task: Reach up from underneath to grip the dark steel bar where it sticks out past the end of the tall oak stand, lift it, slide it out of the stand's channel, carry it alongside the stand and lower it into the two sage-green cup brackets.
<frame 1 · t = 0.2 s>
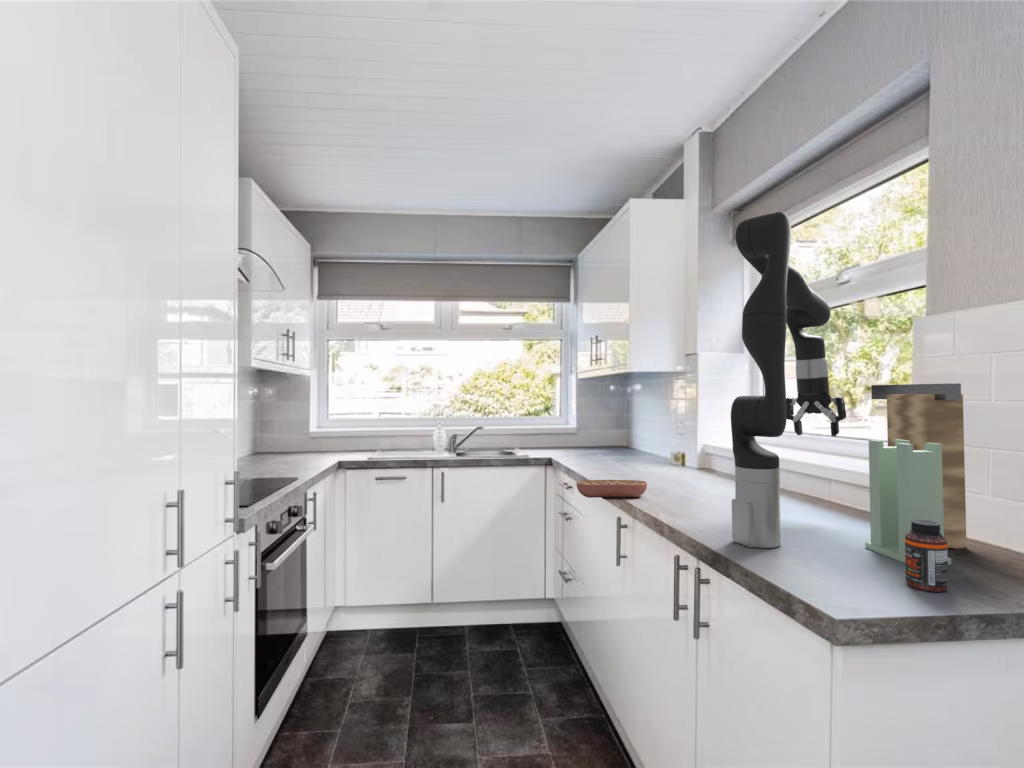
hand: (816, 435, 150), 22 cm above the worktop, tool pointing down, fingers open, 8 cm apart
brown elongated piece: (611, 497, 184), on the worktop
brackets: (906, 555, 115), on the worktop
rail: (912, 399, 129), point 32 cm above the worktop, touching shelf
shelf: (926, 541, 126), on the worktop
supplement bottle: (926, 588, 97), on the worktop
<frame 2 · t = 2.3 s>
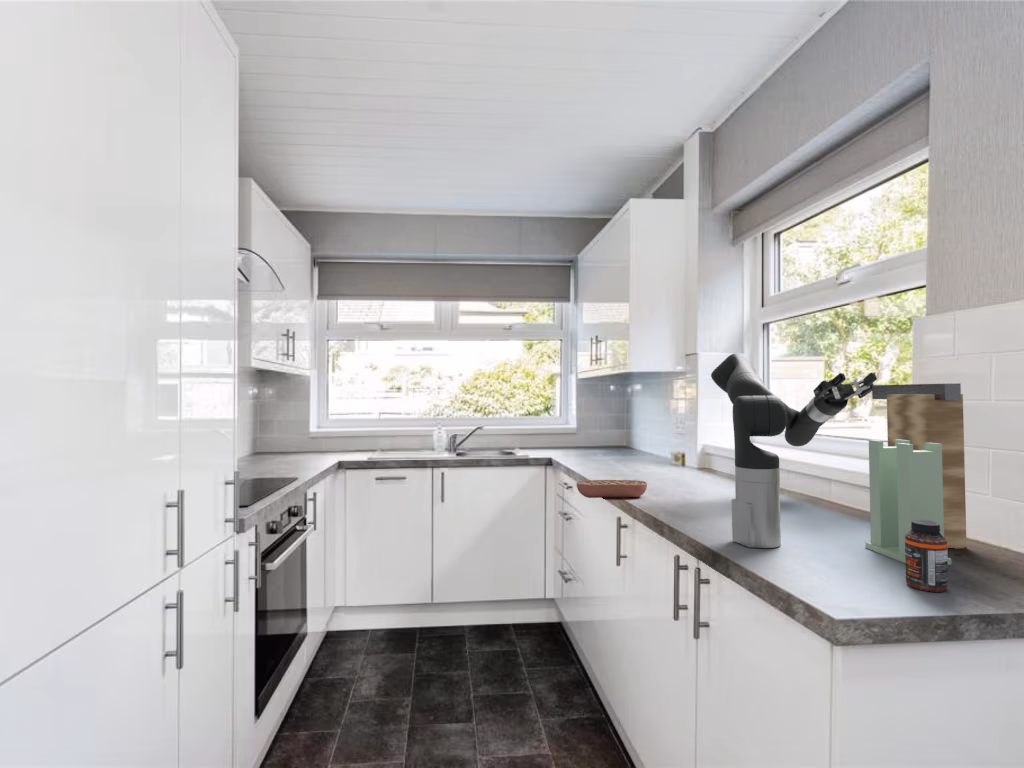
hand: (859, 375, 147), 38 cm above the worktop, tool pointing upward, fingers open, 8 cm apart
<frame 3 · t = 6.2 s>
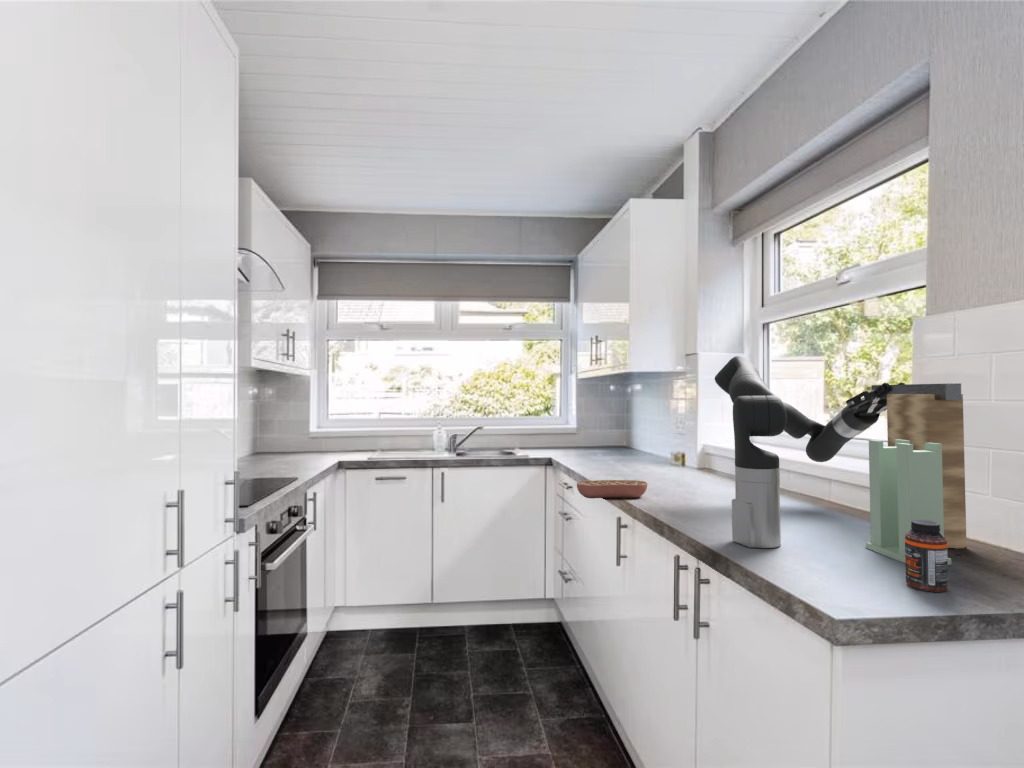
hand: (896, 385, 134), 35 cm above the worktop, tool pointing upward, fingers closed on rail, 3 cm apart
rail: (912, 399, 129), point 32 cm above the worktop, touching gripper, shelf
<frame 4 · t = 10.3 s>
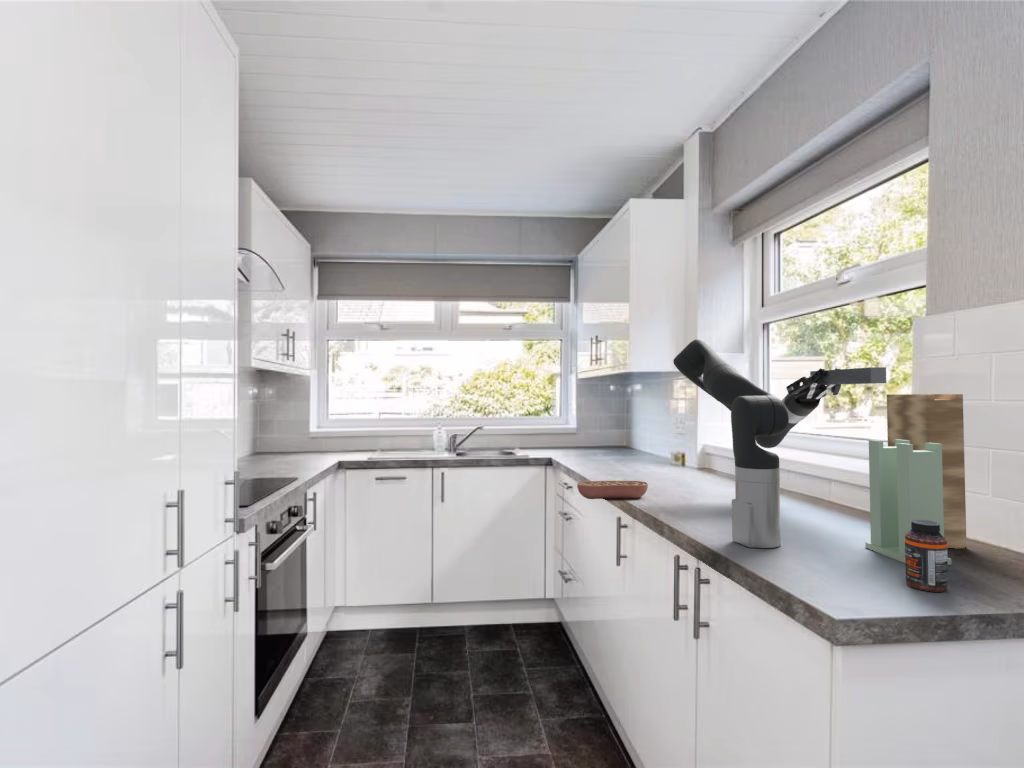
hand: (831, 371, 138), 39 cm above the worktop, tool pointing upward, fingers closed on rail, 3 cm apart
rail: (845, 384, 133), point 36 cm above the worktop, touching gripper
when the fingers open (26 cm above the worktop, at t = 14.4 s): rail stays where it is, resting on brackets.
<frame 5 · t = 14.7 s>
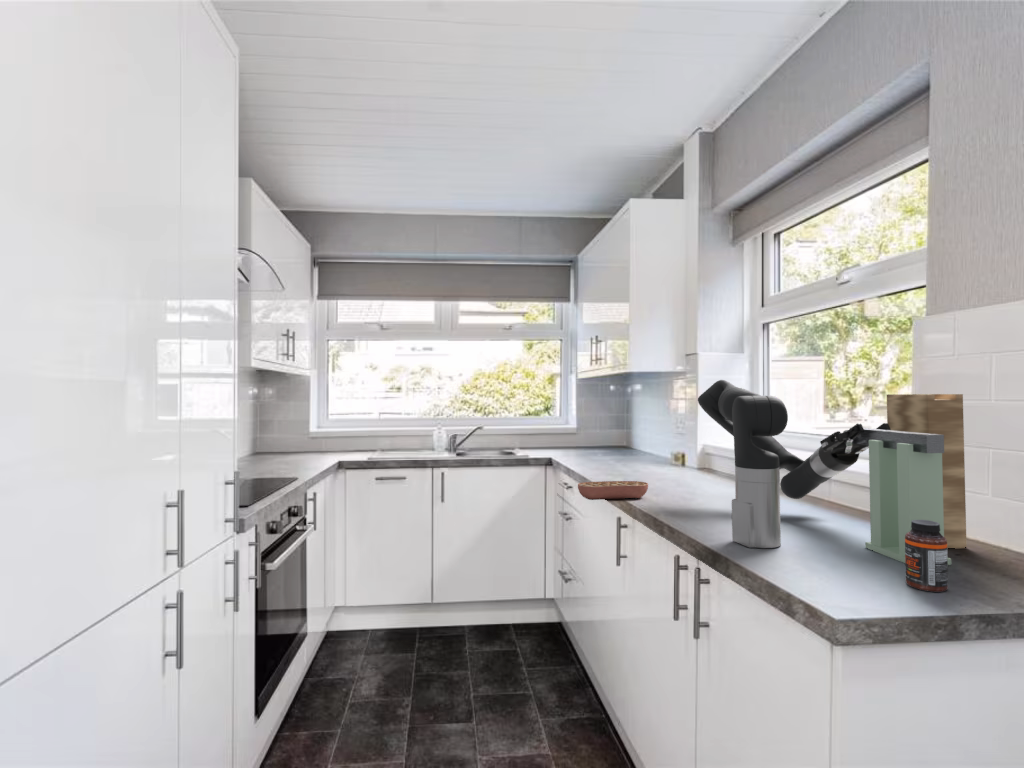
hand: (874, 427, 123), 26 cm above the worktop, tool pointing upward, fingers open, 5 cm apart
rail: (892, 447, 118), point 22 cm above the worktop, touching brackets
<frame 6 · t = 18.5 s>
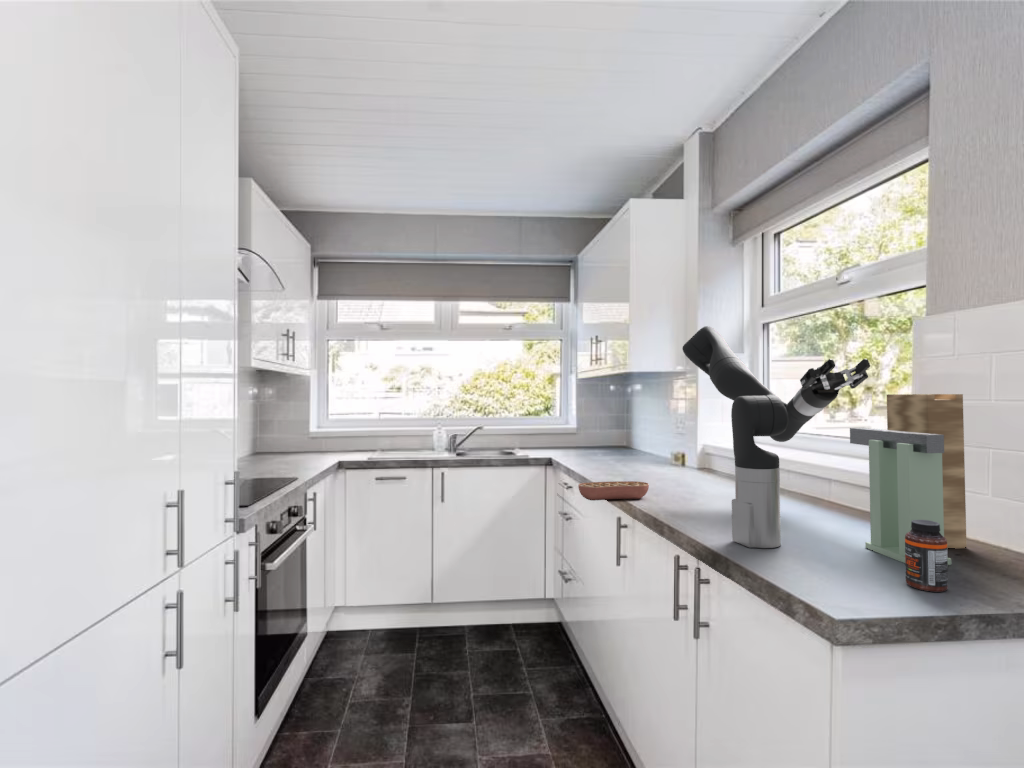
hand: (850, 362, 131), 41 cm above the worktop, tool pointing upward, fingers open, 8 cm apart
at the end: rail inside the target area (0.2 cm from its centre), point 22.0 cm above the worktop; rail touching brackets; the gripper is holding nothing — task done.
